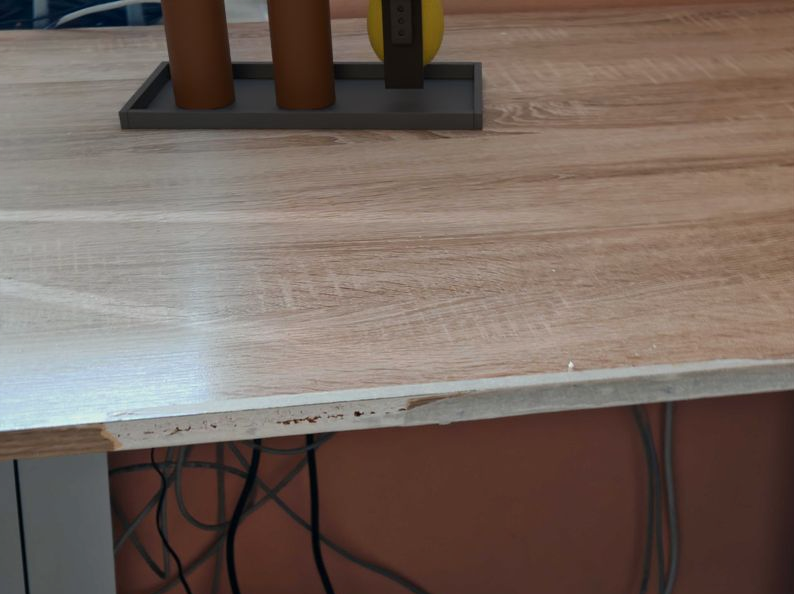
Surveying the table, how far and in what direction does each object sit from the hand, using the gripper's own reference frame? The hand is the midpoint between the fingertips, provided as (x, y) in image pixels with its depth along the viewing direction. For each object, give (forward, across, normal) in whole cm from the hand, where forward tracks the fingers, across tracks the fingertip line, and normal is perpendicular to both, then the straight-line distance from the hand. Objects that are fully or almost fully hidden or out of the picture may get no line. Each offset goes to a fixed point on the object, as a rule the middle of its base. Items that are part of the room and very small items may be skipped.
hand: (406, 73), depth 79 cm
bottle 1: (+2, 0, +15) cm, 15 cm away
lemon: (+1, 0, 0) cm, 1 cm away
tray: (+3, 0, +7) cm, 8 cm away
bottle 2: (+2, 0, +8) cm, 8 cm away
